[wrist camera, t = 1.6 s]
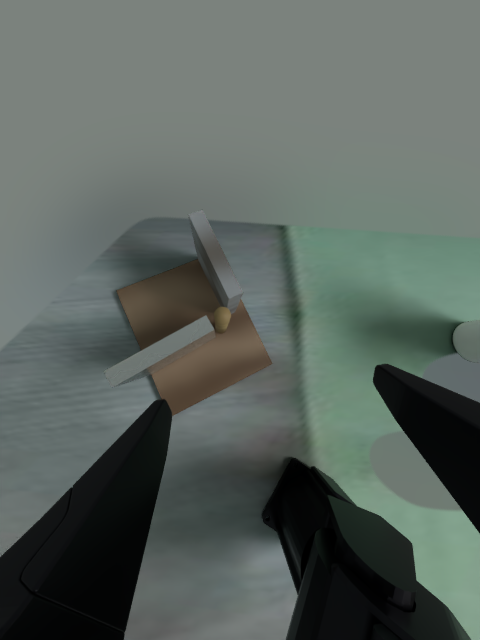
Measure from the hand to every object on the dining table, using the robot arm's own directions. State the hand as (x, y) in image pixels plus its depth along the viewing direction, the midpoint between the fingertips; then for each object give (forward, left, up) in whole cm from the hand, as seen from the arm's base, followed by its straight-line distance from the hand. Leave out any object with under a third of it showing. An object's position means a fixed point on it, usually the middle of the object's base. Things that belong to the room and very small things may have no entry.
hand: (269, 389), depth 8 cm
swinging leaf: (-2, +6, -13) cm, 14 cm away
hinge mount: (+1, +6, -14) cm, 15 cm away
